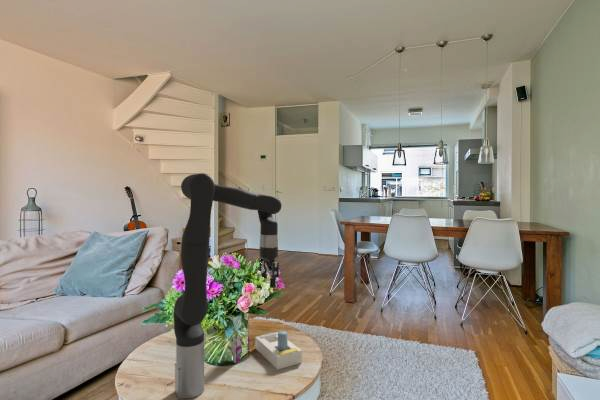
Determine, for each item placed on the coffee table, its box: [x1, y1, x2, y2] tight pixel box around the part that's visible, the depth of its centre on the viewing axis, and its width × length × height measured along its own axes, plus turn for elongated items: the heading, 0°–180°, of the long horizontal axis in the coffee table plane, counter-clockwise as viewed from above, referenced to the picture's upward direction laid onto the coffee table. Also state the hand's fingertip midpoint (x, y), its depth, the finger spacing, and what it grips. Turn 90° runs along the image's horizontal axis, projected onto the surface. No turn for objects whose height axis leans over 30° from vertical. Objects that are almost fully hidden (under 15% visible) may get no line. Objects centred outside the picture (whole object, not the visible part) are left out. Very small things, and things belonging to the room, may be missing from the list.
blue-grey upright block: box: [277, 330, 288, 352], centre depth 139 cm, size 4×4×10 cm
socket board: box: [254, 331, 303, 371], centre depth 143 cm, size 11×22×5 cm, turn 30°
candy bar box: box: [232, 314, 250, 364], centre depth 142 cm, size 11×5×16 cm, turn 161°
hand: (268, 285), depth 138 cm, fingers open, 8 cm apart
